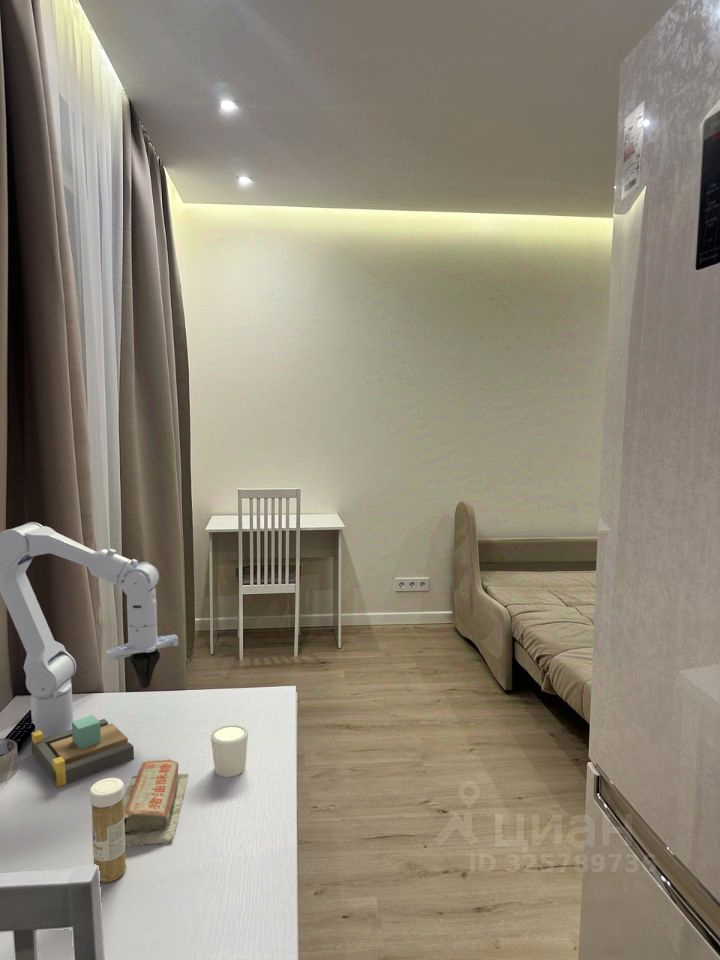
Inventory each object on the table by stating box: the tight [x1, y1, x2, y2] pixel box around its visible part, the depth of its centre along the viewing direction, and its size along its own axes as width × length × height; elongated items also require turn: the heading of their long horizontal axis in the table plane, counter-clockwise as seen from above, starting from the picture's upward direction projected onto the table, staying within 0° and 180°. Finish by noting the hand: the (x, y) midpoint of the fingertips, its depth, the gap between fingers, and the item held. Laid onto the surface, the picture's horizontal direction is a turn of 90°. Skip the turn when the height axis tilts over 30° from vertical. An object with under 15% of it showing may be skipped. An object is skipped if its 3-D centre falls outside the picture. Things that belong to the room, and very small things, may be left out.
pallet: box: [50, 723, 129, 765], centre depth 123 cm, size 8×12×3 cm, turn 132°
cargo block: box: [72, 714, 101, 749], centre depth 123 cm, size 4×4×4 cm
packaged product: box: [123, 759, 189, 847], centre depth 106 cm, size 18×5×10 cm
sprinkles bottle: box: [89, 777, 127, 883], centre depth 91 cm, size 5×5×14 cm
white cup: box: [210, 724, 249, 778], centre depth 118 cm, size 7×7×7 cm
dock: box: [31, 718, 135, 788], centre depth 122 cm, size 15×14×4 cm
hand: (144, 686), depth 131 cm, fingers closed
